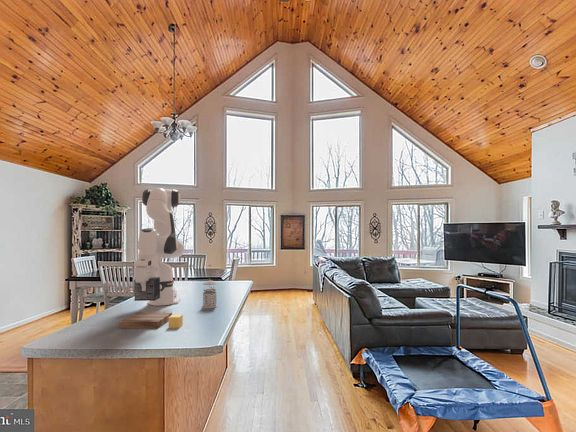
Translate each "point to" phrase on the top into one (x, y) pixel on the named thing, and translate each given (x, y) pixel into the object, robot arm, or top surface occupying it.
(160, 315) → the base board
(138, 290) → the small box
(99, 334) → the top surface
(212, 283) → the french press
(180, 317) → the mustard block
